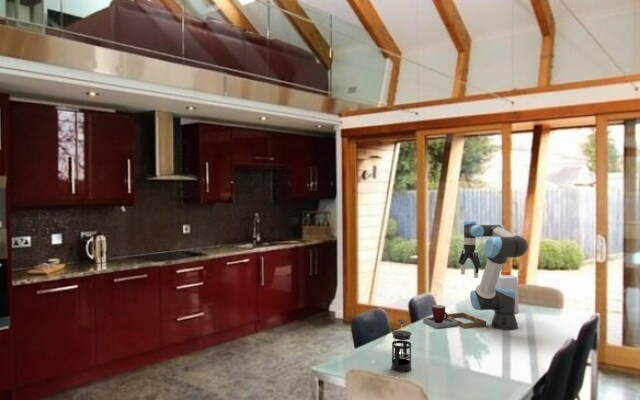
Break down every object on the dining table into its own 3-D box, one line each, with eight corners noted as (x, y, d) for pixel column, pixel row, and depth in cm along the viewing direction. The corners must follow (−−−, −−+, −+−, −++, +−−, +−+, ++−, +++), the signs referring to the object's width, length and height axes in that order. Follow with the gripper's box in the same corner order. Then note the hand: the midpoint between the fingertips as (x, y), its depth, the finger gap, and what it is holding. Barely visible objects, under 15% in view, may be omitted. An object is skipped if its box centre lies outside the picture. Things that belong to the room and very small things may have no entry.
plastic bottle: (489, 309, 353) (490, 269, 352) (510, 308, 354) (510, 269, 354) (499, 314, 338) (500, 273, 337) (521, 314, 339) (521, 272, 339)
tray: (457, 326, 307) (457, 321, 307) (436, 329, 302) (437, 324, 302) (443, 320, 321) (443, 315, 321) (423, 322, 316) (423, 318, 316)
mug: (451, 323, 311) (451, 307, 311) (444, 325, 305) (445, 309, 305) (435, 319, 318) (436, 304, 318) (429, 322, 312) (429, 306, 312)
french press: (396, 363, 242) (396, 316, 242) (414, 367, 237) (415, 318, 237) (386, 370, 232) (387, 321, 232) (405, 374, 227) (406, 324, 227)
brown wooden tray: (486, 326, 309) (486, 321, 309) (464, 328, 303) (464, 323, 303) (462, 317, 330) (462, 312, 330) (442, 319, 324) (442, 314, 324)
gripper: (453, 242, 342) (453, 273, 342) (477, 246, 318) (476, 279, 319) (462, 241, 344) (462, 272, 345) (487, 245, 321) (486, 278, 322)
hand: (469, 276), depth 332 cm, fingers open, 13 cm apart
